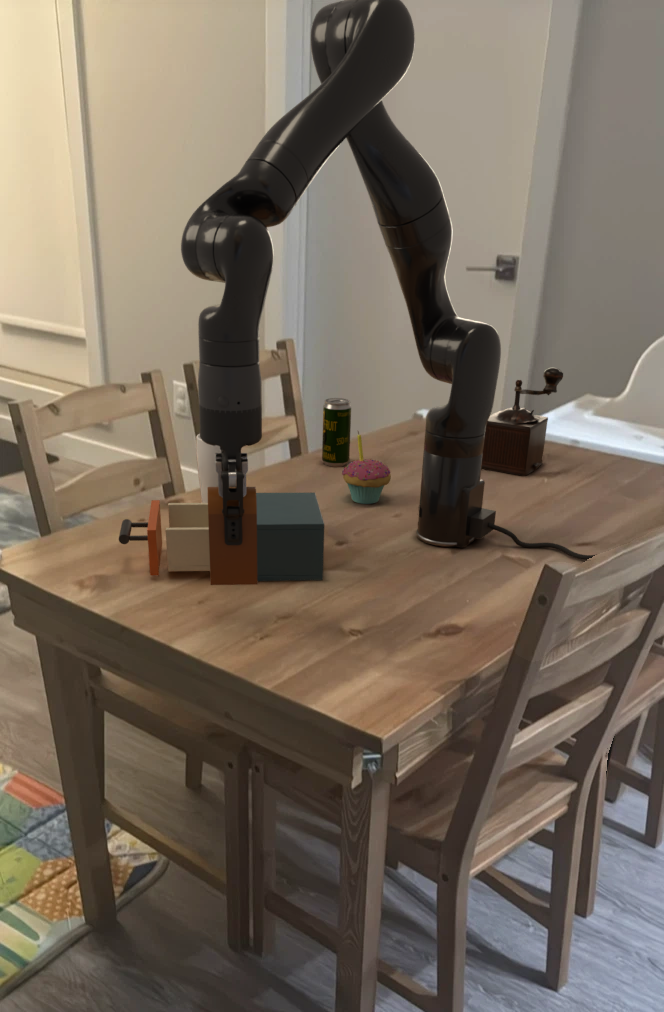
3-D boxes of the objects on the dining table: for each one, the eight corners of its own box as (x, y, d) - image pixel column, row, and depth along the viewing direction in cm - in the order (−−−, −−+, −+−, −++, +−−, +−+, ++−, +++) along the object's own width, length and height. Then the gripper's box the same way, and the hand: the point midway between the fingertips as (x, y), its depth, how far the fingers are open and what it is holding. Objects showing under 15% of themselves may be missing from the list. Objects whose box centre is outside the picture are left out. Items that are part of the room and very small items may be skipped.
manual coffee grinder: (528, 477, 190) (541, 380, 181) (475, 467, 195) (485, 373, 186) (554, 458, 202) (568, 367, 193) (503, 449, 207) (514, 360, 197)
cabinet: (222, 581, 142) (220, 524, 138) (221, 546, 154) (219, 492, 150) (322, 580, 144) (324, 523, 139) (314, 545, 156) (315, 492, 151)
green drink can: (333, 457, 198) (335, 396, 192) (354, 463, 195) (357, 401, 189) (316, 463, 194) (317, 400, 188) (337, 468, 191) (339, 405, 185)
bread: (255, 569, 132) (254, 481, 126) (257, 584, 128) (256, 493, 121) (210, 570, 131) (207, 481, 125) (210, 585, 127) (207, 494, 121)
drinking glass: (234, 537, 158) (232, 443, 150) (193, 533, 159) (189, 439, 151) (245, 523, 163) (244, 432, 156) (206, 519, 164) (203, 428, 157)
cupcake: (334, 503, 174) (336, 434, 168) (351, 489, 181) (354, 423, 174) (380, 510, 171) (384, 441, 165) (396, 496, 178) (400, 429, 172)
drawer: (119, 575, 141) (115, 530, 137) (125, 543, 152) (122, 500, 148) (244, 574, 143) (244, 529, 139) (242, 542, 154) (241, 499, 150)
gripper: (264, 415, 112) (265, 556, 121) (259, 387, 124) (259, 517, 133) (198, 415, 111) (203, 557, 120) (199, 386, 123) (203, 517, 132)
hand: (233, 535), depth 126 cm, fingers closed on bread, 5 cm apart
